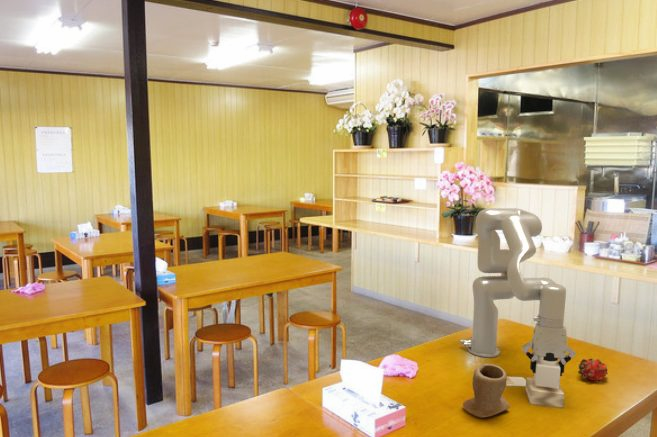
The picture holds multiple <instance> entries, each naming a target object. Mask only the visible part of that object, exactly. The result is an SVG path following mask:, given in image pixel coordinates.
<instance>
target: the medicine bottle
mask: <svg viewBox="0 0 657 437" xmlns="http://www.w3.org/2000/svg"><path fill="white" fill-rule="evenodd" d="M533 378H534V380H535V385H536V386H542V387H549V388H556V389H559V384H560V383H561V382H560V380H561V379H560V378H561V376H560V365H559V358H555V357H554V354H553V353H546V356H545V357H541V356H538V357H537V358H536V373H533Z"/></svg>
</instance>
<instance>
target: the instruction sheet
mask: <svg viewBox="0 0 657 437" xmlns="http://www.w3.org/2000/svg"><path fill="white" fill-rule="evenodd" d="M506 387H525V388H526V379H525V378H524V377H522V376H507V383H506Z"/></svg>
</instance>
